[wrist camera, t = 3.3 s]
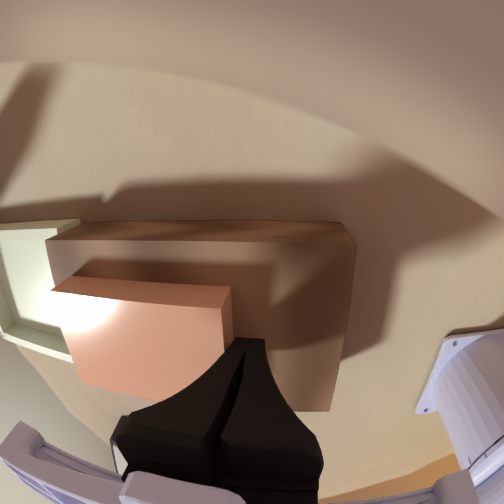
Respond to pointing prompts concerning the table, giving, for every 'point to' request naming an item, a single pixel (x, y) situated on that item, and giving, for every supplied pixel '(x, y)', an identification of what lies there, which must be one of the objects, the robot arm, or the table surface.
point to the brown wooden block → (239, 283)
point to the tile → (142, 332)
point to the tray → (30, 287)
